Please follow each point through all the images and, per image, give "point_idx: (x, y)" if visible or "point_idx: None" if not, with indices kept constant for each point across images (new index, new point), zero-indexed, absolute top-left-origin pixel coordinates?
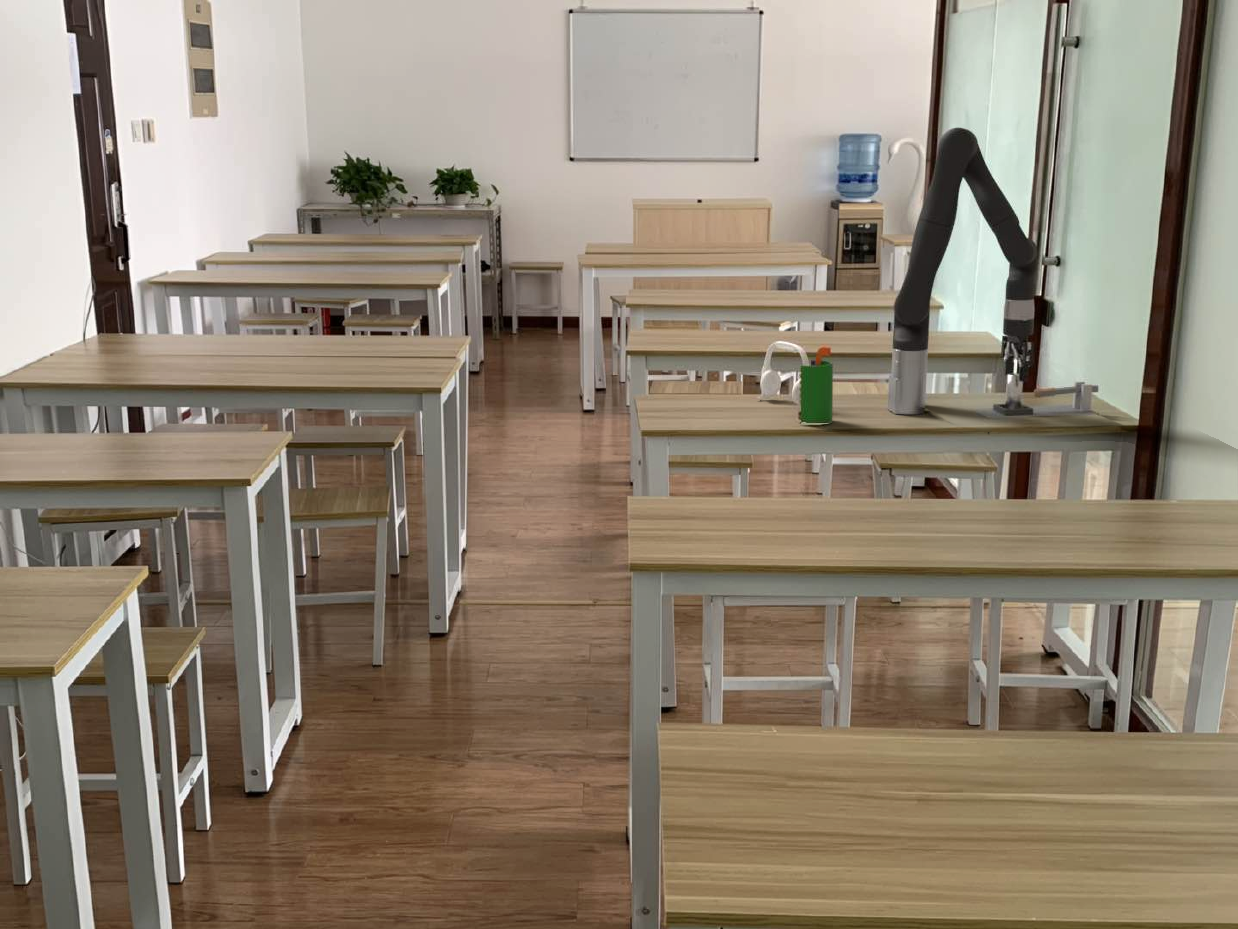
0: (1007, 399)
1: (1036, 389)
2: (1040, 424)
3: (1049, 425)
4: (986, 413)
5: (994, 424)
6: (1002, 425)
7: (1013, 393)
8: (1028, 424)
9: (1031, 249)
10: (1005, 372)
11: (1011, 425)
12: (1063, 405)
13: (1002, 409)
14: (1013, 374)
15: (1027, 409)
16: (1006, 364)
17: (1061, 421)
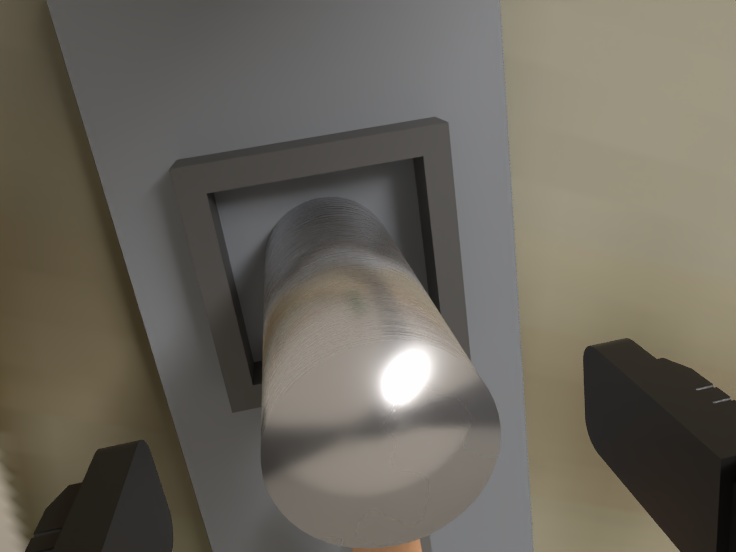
0: (308, 237)
1: (381, 549)
2: (87, 389)
3: (56, 439)
4: (278, 9)
5: (46, 27)
6: (9, 90)
7: (267, 310)
8: (78, 308)
9: None
10: (619, 357)
11: (19, 168)
12: None
13: (236, 156)
14: (405, 433)
15: (222, 366)
16: (690, 437)
17: (202, 528)
